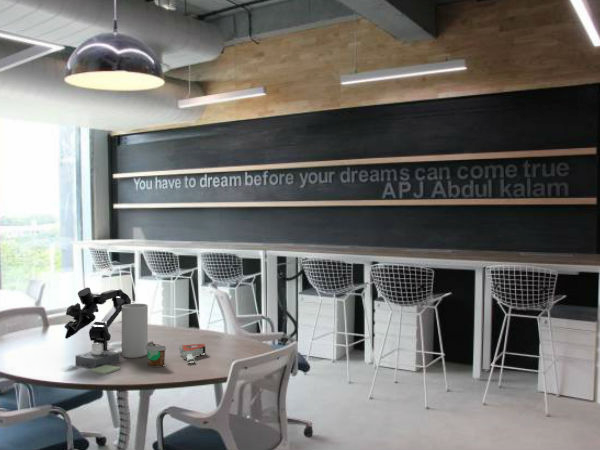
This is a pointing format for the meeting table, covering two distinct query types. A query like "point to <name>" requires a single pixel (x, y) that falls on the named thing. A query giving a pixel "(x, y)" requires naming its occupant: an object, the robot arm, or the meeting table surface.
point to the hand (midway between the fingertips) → (71, 334)
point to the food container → (155, 354)
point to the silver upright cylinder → (97, 349)
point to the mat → (105, 369)
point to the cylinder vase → (134, 330)
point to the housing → (97, 359)
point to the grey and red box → (191, 351)
